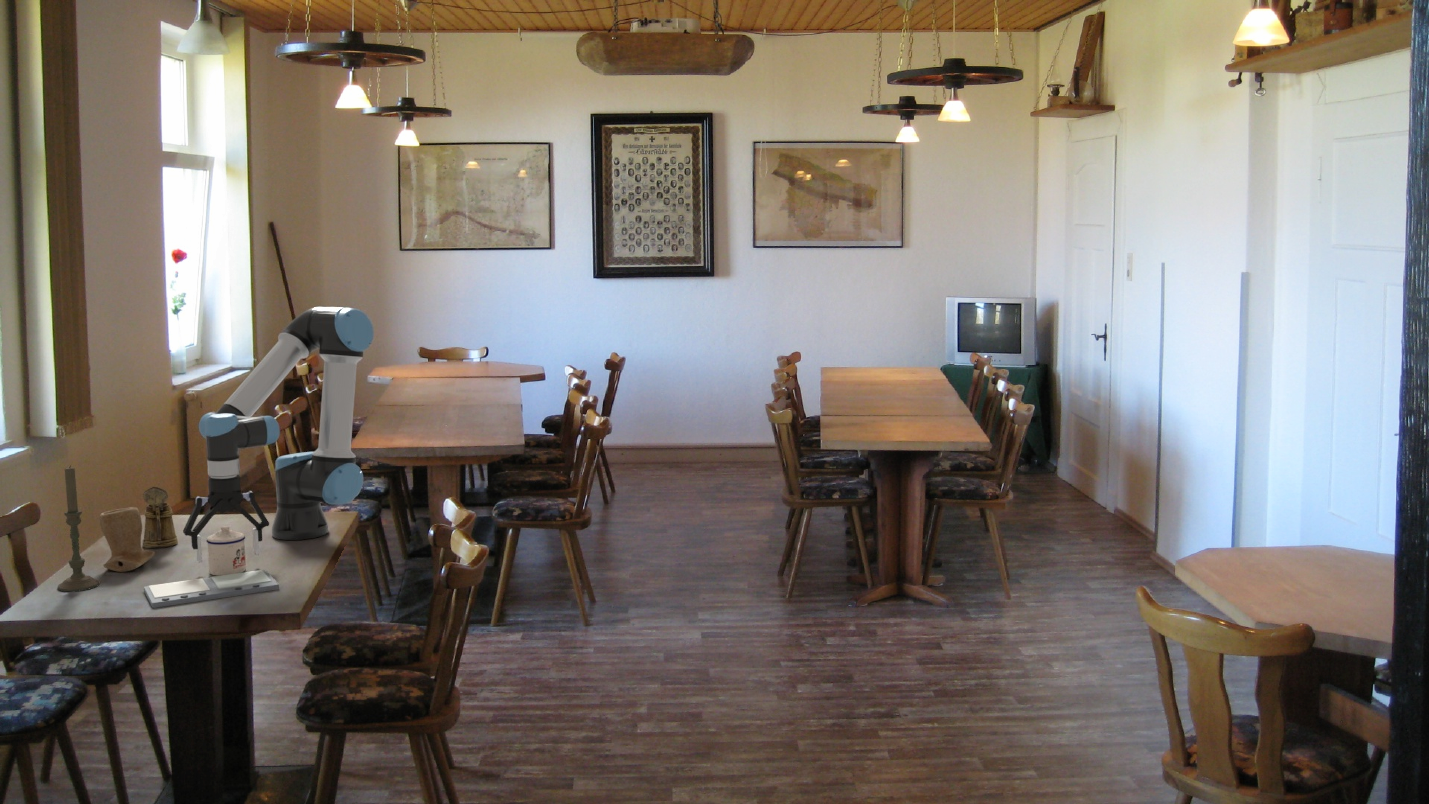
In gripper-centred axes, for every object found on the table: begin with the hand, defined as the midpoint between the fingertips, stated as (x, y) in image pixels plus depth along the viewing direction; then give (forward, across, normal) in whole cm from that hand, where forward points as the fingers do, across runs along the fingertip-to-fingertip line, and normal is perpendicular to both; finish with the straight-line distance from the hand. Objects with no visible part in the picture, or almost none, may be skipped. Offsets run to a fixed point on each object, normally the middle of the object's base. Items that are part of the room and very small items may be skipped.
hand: (228, 557), depth 313 cm
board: (+3, +7, +16) cm, 18 cm away
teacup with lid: (+3, 0, 0) cm, 3 cm away
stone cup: (+4, +22, -18) cm, 29 cm away
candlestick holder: (+4, +34, -4) cm, 34 cm away
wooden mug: (+3, +12, -34) cm, 36 cm away
